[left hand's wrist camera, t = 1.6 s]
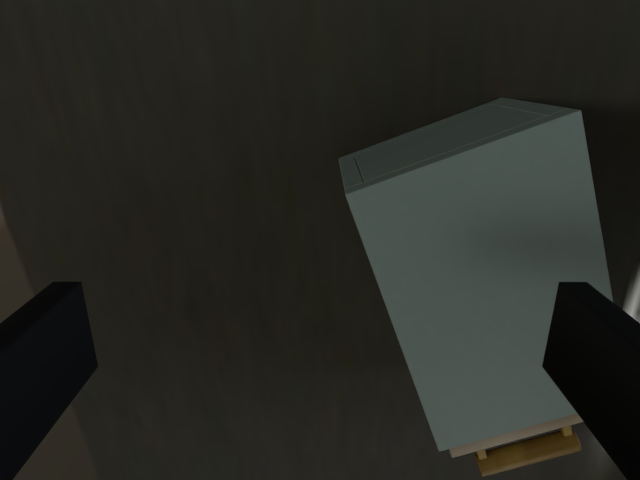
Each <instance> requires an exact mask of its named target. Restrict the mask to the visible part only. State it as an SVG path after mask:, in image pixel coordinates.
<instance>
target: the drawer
mask: <svg viewBox="0 0 640 480" xmlns="http://www.w3.org/2000/svg"><path fill="white" fill-rule="evenodd" d="M581 422H584V421H583V420H582V419H581V417H580V416H579V415H578V414H577V413H576V414H573V415H569V416H565V417H562V418H558V419H555V420H551V421H547V422H544V423H540V424H537V425H533V426H530V427H526V428H522V429H519V430H515V431H512V432H508V433H504V434H501V435H497V436H494V437H490V438H486V439H483V440H479V441H476V442H472V443H468V444H465V445H461V446H458V447H454V448H450V449H449V451H450V454H451V457H452V458H454V457H457V456H461V455H464V454H468V453H472V452H475V451H476V452H477V453H476V454H474V456H475V459H476V462H477V465H478V467H479V470H480V473H481V475H482V477H485V476H489V475H493V474H496V473H500V472H504V471H508V470H511V469H515V468H519V467H523V466H526V465H530V464H534V463H538V462H541V461H545V460H549V459H552V458H556V457H560V456H564V455H567V454H571V453H575V452H579V451H581V445H580V442H579V440H578V438H577V436H576V434H575V432H574V431H573V430H572V429H571V425H573V424H577V423H581ZM559 428H560V431H557V432H553V433H549V434H546V435H542V436H538V437H535V438H531V439H527V440H524V441H520V442H517V443H513V444H509V445H506V446H502V447H498V448H495V449H491V450H487V451H485V449H486V448H490V447H494V446H497V445H501V444H504V443H508V442H512V441H515V440H519V439H523V438H526V437H530V436H533V435H537V434H541V433H544V432H548V431H552V430H555V429H559Z"/></svg>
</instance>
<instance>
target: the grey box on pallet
mask: <svg viewBox="0 0 640 480" xmlns="http://www.w3.org/2000/svg"><path fill="white" fill-rule="evenodd" d="M339 164H340V170H341V175H342V180H343V185H344V190H345V195H346V198H347V201H348V204H349V206H350V209H351V212H352V215H353V217H354V220H355V223H356V226H357V228H358V231H359V234H360V237H361V239H362V242H363V245H364V248H365V250H366V253H367V256H368V258H369V261H370V264H371V267H372V269H373V272H374V275H375V278H376V280H377V283H378V286H379V289H380V291H381V294H382V297H383V300H384V302H385V305H386V308H387V310H388V313H389V316H390V319H391V321H392V324H393V327H394V330H395V332H396V335H397V338H398V341H399V343H400V346H401V349H402V352H403V354H404V357H405V360H406V362H407V365H408V368H409V371H410V373H411V376H412V379H413V382H414V384H415V387H416V390H417V393H418V395H419V398H420V401H421V404H422V406H423V409H424V412H425V414H426V417H427V420H428V423H429V425H430V428H431V431H432V434H433V436H434V439H435V442H436V445H437V447H438V450H439V451H443V450H447V449H450V448H454V447H458V446H461V445H465V444H468V443H472V442H476V441H479V440H483V439H486V438H490V437H494V436H497V435H501V434H504V433H508V432H512V431H515V430H519V429H522V428H526V427H530V426H533V425H537V424H540V423H544V422H547V421H551V420H555V419H558V418H562V417H565V416H569V415H573V414H576V413H577V412H576V411H575V410H574V408H573V407H572V406H571V404H570V403H569V402H568V400H567V399H566V398H565V396H564V395H563V394H562V392H561V391H560V390H559V388H558V387H557V386H556V384H555V383H554V382H553V380H552V379H551V378H550V376H549V375H548V374H547V372H546V371H545V370H544V368H543V367H542V364H543V359H544V354H545V349H546V344H547V339H548V334H549V329H550V324H551V319H552V314H553V309H554V304H555V299H556V294H557V289H558V284H559V282H588V283H589V284H590V285H591V286H593V287H594V288H595V289H596V290H598V291H599V292H600V293H602V294H603V295H604V296H605V297H607V298H608V299H609V300H610V301H612V302H613V298H612V292H611V286H610V280H609V274H608V268H607V262H606V256H605V250H604V244H603V238H602V232H601V226H600V220H599V214H598V208H597V202H596V196H595V190H594V184H593V178H592V172H591V166H590V161H589V155H588V149H587V143H586V137H585V131H584V125H583V119H582V113H581V110H578V109H571V108H565V107H559V106H553V105H546V104H540V103H534V102H528V101H521V100H515V99H509V98H499V99H496V100H494V101H491V102H488V103H486V104H483V105H480V106H477V107H475V108H472V109H469V110H467V111H464V112H461V113H459V114H456V115H453V116H451V117H448V118H445V119H442V120H440V121H437V122H434V123H432V124H429V125H426V126H424V127H421V128H418V129H416V130H413V131H410V132H407V133H405V134H402V135H399V136H397V137H394V138H391V139H389V140H386V141H383V142H381V143H378V144H375V145H373V146H370V147H367V148H364V149H362V150H359V151H356V152H354V153H351V154H348V155H346V156H343V157H340V158H339Z"/></svg>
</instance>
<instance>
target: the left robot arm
mask: <svg viewBox="0 0 640 480" xmlns="http://www.w3.org/2000/svg"><path fill="white" fill-rule="evenodd" d="M97 367H98V364H97V359H96V354H95V349H94V344H93V339H92V334H91V329H90V324H89V319H88V314H87V309H86V304H85V299H84V294H83V289H82V284H81V282H52V283H51V284H50V285H49V286H47V287H46V288H45V289H44V290H42V291H41V292H40V293H38V294H37V295H36V296H35V297H33V298H32V299H31V300H30V301H28V302H27V303H26V304H25V305H23V306H22V307H21V308H19V309H18V310H17V311H16V312H14V313H13V314H12V315H10V316H9V317H8V318H7V319H5V320H4V321H3V322H2V323H0V480H13V478H14V477H15V476H16V474H17V473H18V472H19V470H20V469H21V468H22V467H23V465H24V464H25V463H26V461H27V460H28V459H29V457H30V456H31V455H32V453H33V452H34V451H35V449H36V448H37V447H38V445H39V444H40V443H41V441H42V440H43V439H44V437H45V436H46V435H47V433H48V432H49V431H50V429H51V428H52V427H53V425H54V424H55V423H56V421H57V420H58V419H59V417H60V416H61V415H62V413H63V412H64V411H65V410H66V408H67V407H68V406H69V404H70V403H71V402H72V400H73V399H74V398H75V396H76V395H77V394H78V392H79V391H80V390H81V388H82V387H83V386H84V384H85V383H86V382H87V380H88V379H89V378H90V376H91V375H92V374H93V372H94V371H95V370H96V368H97ZM542 367H543V368H544V370H545V371H546V372H547V374H548V375H549V376H550V378H551V379H552V380H553V382H554V383H555V384H556V386H557V387H558V388H559V390H560V391H561V392H562V394H563V395H564V396H565V398H566V399H567V400H568V402H569V403H570V404H571V406H572V407H573V408H574V410H575V411H576V412H577V414H578V415H579V416H580V417H581V419H582V420H583V421H584V423H585V424H586V425H587V427H588V428H589V429H590V431H591V432H592V433H593V435H594V436H595V437H596V439H597V440H598V441H599V443H600V444H601V445H602V447H603V448H604V449H605V451H606V452H607V453H608V455H609V456H610V457H611V459H612V460H613V461H614V463H615V464H616V465H617V467H618V468H619V469H620V471H621V472H622V473H623V475H624V476H625V477H626V479H627V480H640V323H638V322H637V321H636V320H635V319H633V318H632V317H631V316H630V315H628V314H627V313H626V312H624V311H623V310H622V309H621V308H619V307H618V306H617V305H616V304H614V303H613V302H612V301H610V300H609V299H608V298H607V297H605V296H604V295H603V294H602V293H600V292H599V291H598V290H596V289H595V288H594V287H593V286H591V285H590V284H589V283H588V282H559V284H558V289H557V294H556V299H555V304H554V309H553V314H552V319H551V324H550V329H549V334H548V339H547V344H546V349H545V354H544V359H543V364H542Z"/></svg>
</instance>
